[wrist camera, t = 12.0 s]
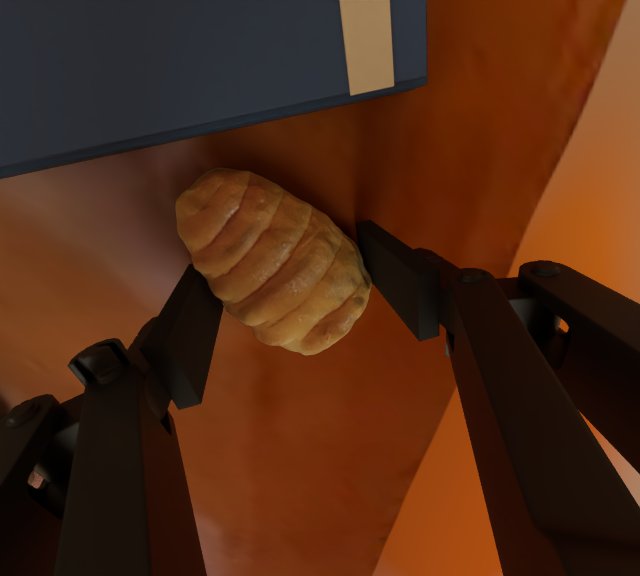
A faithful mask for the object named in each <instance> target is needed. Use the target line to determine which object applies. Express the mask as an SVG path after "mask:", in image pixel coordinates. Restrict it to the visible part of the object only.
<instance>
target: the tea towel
mask: <svg viewBox="0 0 640 576" xmlns="http://www.w3.org/2000/svg"><path fill="white" fill-rule="evenodd" d="M426 84H427V0H0V179H2V178H7V177H12V176H16V175H21V174H26V173H30V172H35V171H40V170H44V169H49V168H54V167H58V166H63V165H68V164H72V163H77V162H81V161H86V160H91V159H95V158H100V157H105V156H109V155H114V154H119V153H123V152H128V151H133V150H137V149H142V148H147V147H151V146H156V145H161V144H165V143H170V142H174V141H179V140H184V139H188V138H193V137H198V136H202V135H207V134H212V133H216V132H221V131H226V130H230V129H235V128H240V127H244V126H249V125H254V124H258V123H263V122H268V121H272V120H277V119H281V118H286V117H291V116H295V115H300V114H305V113H309V112H314V111H319V110H323V109H328V108H333V107H337V106H342V105H347V104H351V103H356V102H361V101H365V100H370V99H374V98H379V97H384V96H388V95H393V94H398V93H402V92H407V91H409V90H412V89H415V88H418V87H420V86H423V85H426Z"/></svg>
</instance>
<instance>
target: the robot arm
mask: <svg viewBox="0 0 640 576" xmlns="http://www.w3.org/2000/svg"><path fill="white" fill-rule="evenodd" d="M356 227H357V234H358V242H359V249H360V253H361V255H362V259H363V265H364V266H365V268H366V270H367V271H368V273H369V274H370V277H371V280H372V283H373V284H374V285H375V287H376V288H377V289H378V290H379V292H380V293H381V294H382V295H383V297H384V298H385V299H386V300H387V302H388V303H389V304H390V305H391V307H392V308H393V309H394V310H395V312H396V313H397V314H398V315H399V317H400V318H401V319H402V320H403V322H404V323H405V324H406V325H407V327H408V328H409V329H410V330H411V332H412V333H413V334H414V335H415V337H416V338H417V339H418V340H419V342H420V341H423V340H427V339H430V338H434V337H437V336H439V323H440V324H441V325H442V326H443V327H444V328H445V329H446V356H449V354H450V358H451V362H452V367H453V371H454V375H455V379H456V383H457V387H458V391H459V395H460V399H461V403H462V408H463V412H464V416H465V419H466V424H467V428H468V432H469V436H470V440H471V445H472V448H473V453H474V457H475V461H476V465H477V469H478V473H479V477H480V482H481V486H482V490H483V494H484V498H485V502H486V506H487V510H488V514H489V519H490V523H491V527H492V531H493V535H494V539H495V543H496V547H497V551H498V555H499V559H500V564H501V568H502V572H503V576H640V507H639V506H638V504H637V503H636V501H635V499H634V498H633V496H632V495H631V493H630V491H629V490H628V488H627V487H626V485H625V484H624V482H623V480H622V479H621V477H620V476H619V474H618V473H617V471H616V469H615V468H614V466H613V465H612V463H611V461H610V460H609V458H608V457H607V455H606V454H605V452H604V450H603V449H602V447H601V446H600V444H599V443H598V441H597V439H596V438H595V436H594V435H593V433H592V432H591V430H590V428H589V427H588V425H587V424H586V422H585V421H584V419H583V417H582V416H581V414H580V412H581V413H582V414H583V415H584V416H585V418H586V419H587V420H589V422H590V423H591V424H592V425H593V426H594V427H595V428H596V429H597V430H598V431H599V432H600V433H601V434H602V435H603V436H604V437H605V438H606V439H607V440H608V442H609V443H610V444H611V445H612V446H613V447H614V448H615V449H616V450H617V451H618V452H619V453H620V454H621V455H622V456H623V457H624V458H625V459H626V460H627V461H628V462H629V463H630V464H631V465H632V467H633V468H634V469H635V470H636V471H637V472H638V473H639V474H640V304H638V303H637V302H635V301H633V300H631V299H629V298H627V297H625V296H623V295H621V294H619V293H617V292H615V291H614V290H612V289H610V288H608V287H606V286H604V285H602V284H600V283H598V282H596V281H595V280H593V279H591V278H589V277H587V276H585V275H583V274H581V273H579V272H577V271H576V270H574V269H572V268H570V267H568V266H565V265H563V264H560V263H555V262H552V261H544V260H539V261H534V262H528V263H524V264H523V265H521V266H520V268H519V274H518V277H513V278H501V279H495V278H494V277H493V275H492V274H490V273H489V272H487V271H485V270H482V269H476V268H463V269H460V268H458V267H456V266H455V265H453V264H452V263H450V262H448V261H447V260H444V258H442V257H440V256H438V255H437V254H436V253H434V252H432V251H431V250H427V249H423V248H417V249H411V248H410V247H408V246H407V245H406V244H404V243H403V242H401V241H400V240H398V239H397V238H396V237H394V236H393V235H391V234H390V233H388V232H387V231H386V230H384V229H383V228H381V227H380V226H378V225H377V224H375V223H374V222H373V221H371V220H367V221H363V222H358V223H356ZM223 307H224V306H223V304H222V301H221V299H220V298H218V297H216V296H215V295H214V294H213V292H212V291H211V289H210V287H209V285H208V281H207V280H206V278H205V277H204V276H203V275H202V274H201V273H200V272H199V271H198V270H196V269H195V268H194V266H193V264H189V265H188V267H187V269H186V270H185V272H184V274H183V275H182V277H181V279H180V280H179V282H178V284H177V285H176V287H175V289H174V291H173V292H172V294H171V296H170V297H169V299H168V301H167V302H166V304H165V306H164V307H163V309H162V311H161V312H160V314H159V316H157V317H154V318H152V319H151V320H150V321H148V322H147V323H146V324H145V325H144V326H143V327H142V328H141V330H140V331H139V333H138V336H136V338H135V339H134V341H133V343H132V344H131V345H130V347H129V348H128V350H126V348H125V347H124V345H123V344H122V342H121V341H120V340H119V339H115V338H113V339H106V340H104V341H101V342H98V343H96V344H94V345H92V346H90V347H88V348H86V349H84V350H83V351H81V352H80V353H78V354H77V355H76V356H75V357H74V358H73V359H72V360H71V361H70V363H69V364H68V367H69V368H70V370H71V371H72V372H73V373H74V374H75V375H76V377H77V378H78V379H79V380H80V381H81V383H82V384H83V385H84V386H85V391H84V393H83V394H80V395H78V396H76V397H74V398H72V399H70V400H67V401H65V402H63V403H61V404H60V403H59V402H58V401H57V400H56V398H55V397H54V396H53V395H49V394H45V395H41V396H37V397H35V398H32V399H30V400H27V401H24V402H23V403H21V405H17V406H16V407H14V408H13V409H12V410H11V411H10V412H9V413H8V414H6V415H5V416H4V417H3V418H2V419H1V420H0V576H207V574H206V569H205V565H204V560H203V555H202V551H201V546H200V541H199V537H198V532H197V527H196V522H195V518H194V513H193V508H192V504H191V499H190V494H189V490H188V485H187V480H186V476H185V471H184V466H183V462H182V457H181V452H180V448H179V443H178V438H177V434H176V429H175V424H174V420H173V417H172V416H171V414H170V413H169V411H168V410H167V409H168V406H169V403H170V401H171V399H172V400H173V402H174V403H175V405H176V406H177V408H178V409H179V410H180V409H184V408H187V407H191V406H194V405H198V404H201V402H202V398H203V394H204V389H205V385H206V381H207V376H208V372H209V368H210V363H211V359H212V355H213V350H214V346H215V342H216V337H217V333H218V328H219V324H220V320H221V315H222V311H223ZM561 319H563V320H564V321H565V322H566V323H567V325H568V326H569V329H568V332H567V333H566V332H564V331H563V330H562V329H561V328H559V325H560V321H561ZM578 410H579V411H580V412H579V411H578ZM33 470H34V471H35V472H37V473H38V474H39V475H40V476H42V477H43V478H44V479H43V481H42V483H41V485H40V487H39V488H38V489H36V488H34V487H33V486H31V485H30V484H29V483H28V480H29V477H30V475H31V473H32V471H33Z"/></svg>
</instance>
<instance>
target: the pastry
mask: <svg viewBox="0 0 640 576" xmlns="http://www.w3.org/2000/svg"><path fill="white" fill-rule="evenodd" d="M175 211H176V220H177V231H178V234H179V236H180V238H181V239H182V240H183V242H184V243H185V245H186V247H187V249H188V250H189V252H190V253H191V259H192V263H193V266H194V268H195V269H196V270H198V271H199V272H200V273H201V274H202V275H203V276H204V277H205V278H206V280H207V281H208V285H209V287H210V289H211V291H212V292H213V294H214V295H215V296H216V297H218V298H220V299H221V300H222V301H223V303H224V305H225V308H226V310H227V312H228V313H229V314H231V315H232V316H233V317H235V318H237V319H238V320H239V321H240V322H242V323H243V324H245V325H250V326H252V327H253V331H254V335H255V337H256V339H257V340H259V341H261V342H263V343H264V344H267V345H270V346H279V345H281V346H282V347H284V348H285V349H288V350H291V351H295V352H300V353H302V354H303V355H313V354H316V353H319V352H321V351H322V350H324V349H326V348H328V347H330V346H331V345H332V344H334V343H335V342H336V341H338V340H339V339H341V338H342V337H343V336H345V335H346V334H347V333H348V332H349V330H350V329H351V327H352V325H353V323H354V322H355V320H356V319H358V318H359V317H360V316H361V314H362V313H363V311H364V309H365V307H366V305H367V302H368V299H369V293H370V290H371V285H372V280H371V277H370V274H369V273H368V271H367V270H366V268H365V266H364V265H363V259H362V255H361V253H360V251H359V248H358V246H357V245H356V244H355V242H354V241H353V240H352V239H350V238H349V237H348V236H346V235H345V234H344V233H343V232H342V231H341V229H339V228H338V227H337V226H336V225H335V224H334V223H333V222H332V220H331V219H330V218H329V217H328V216H327V215H326V214H324V213H323V212H321V211H319V210H317V209H315V208H314V207H312V206H311V205H310V204H308V203H306V202H304V201H302V200H300V199H298V198H296V197H295V196H293V195H292V194H290V193H289V192H288V191H285V190H284V189H283V188H281V187H280V186H279V185H277V184H275V183H273V182H271V181H269V180H267V179H266V178H264V177H262V176H260V175H257V174H254V173H253V172H251V171H239V170H235V169H228V168H213V169H210V170H209V171H207V172H206V173H205V174H203V175H202V176H200V177H199V178H198V179H197V180H196V181H195V182H194V183H193V184H192V185H191V186H190V187H189V188H188V189H187V190H186V191H184V192H183V193H182V194H181V195H180V196H179V197H178V199H177V200H176V202H175Z"/></svg>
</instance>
